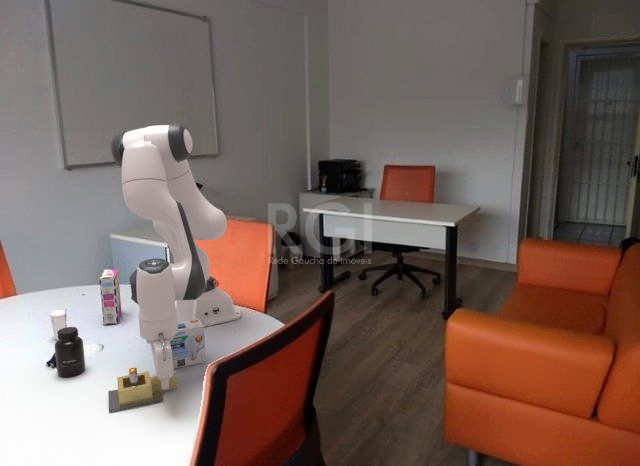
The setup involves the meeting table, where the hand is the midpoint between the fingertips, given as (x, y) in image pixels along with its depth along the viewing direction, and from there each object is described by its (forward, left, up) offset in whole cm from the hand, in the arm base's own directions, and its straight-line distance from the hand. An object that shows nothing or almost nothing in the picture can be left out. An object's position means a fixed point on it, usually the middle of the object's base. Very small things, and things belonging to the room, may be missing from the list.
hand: (163, 378), depth 123 cm
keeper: (+7, 0, -4) cm, 8 cm away
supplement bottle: (+22, -21, -4) cm, 30 cm away
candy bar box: (+11, -57, -4) cm, 58 cm away
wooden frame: (+4, 0, -3) cm, 5 cm away
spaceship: (+25, -27, -4) cm, 37 cm away
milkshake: (+26, -46, -4) cm, 53 cm away
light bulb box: (-7, -15, -4) cm, 17 cm away
